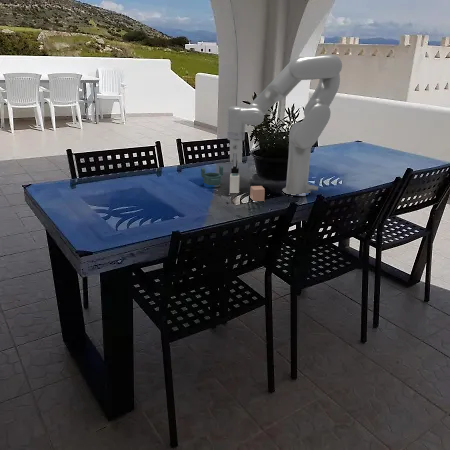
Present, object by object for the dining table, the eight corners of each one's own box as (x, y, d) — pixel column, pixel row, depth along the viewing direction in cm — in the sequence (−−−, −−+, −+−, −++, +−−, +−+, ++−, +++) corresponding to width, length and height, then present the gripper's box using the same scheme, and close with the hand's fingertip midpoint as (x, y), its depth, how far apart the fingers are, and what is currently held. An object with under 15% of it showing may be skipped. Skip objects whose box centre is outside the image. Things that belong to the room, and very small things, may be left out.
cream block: (238, 192, 197) (239, 173, 193) (238, 195, 193) (239, 176, 189) (230, 191, 197) (230, 172, 193) (229, 195, 194) (230, 176, 189)
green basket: (199, 186, 205) (199, 168, 202) (209, 181, 213) (209, 163, 209) (216, 189, 202) (216, 170, 198) (225, 184, 209) (225, 166, 206)
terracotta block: (260, 199, 190) (261, 185, 188) (264, 202, 186) (264, 189, 183) (249, 199, 189) (250, 186, 187) (252, 203, 185) (253, 189, 183)
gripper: (244, 139, 181) (242, 182, 188) (245, 132, 195) (243, 172, 202) (226, 138, 182) (225, 181, 189) (228, 132, 196) (227, 172, 203)
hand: (234, 176), depth 196 cm, fingers closed
